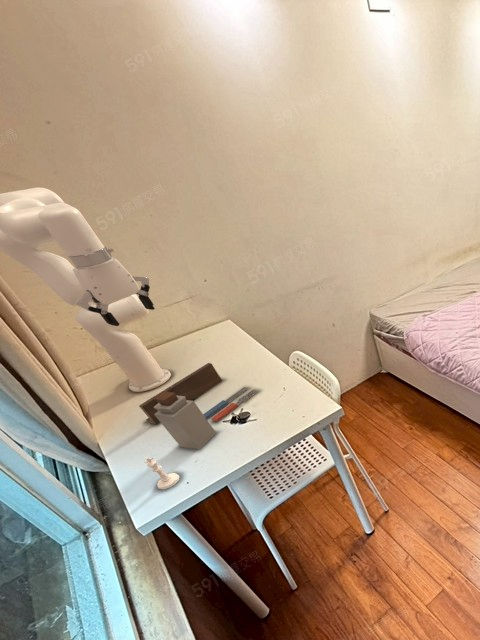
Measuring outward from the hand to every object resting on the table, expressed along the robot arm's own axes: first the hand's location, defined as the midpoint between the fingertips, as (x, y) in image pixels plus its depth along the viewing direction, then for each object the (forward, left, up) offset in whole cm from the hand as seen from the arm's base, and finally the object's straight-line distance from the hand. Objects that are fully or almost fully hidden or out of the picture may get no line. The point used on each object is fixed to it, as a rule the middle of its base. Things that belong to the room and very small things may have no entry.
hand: (133, 316), depth 110 cm
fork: (+13, +4, -35) cm, 37 cm away
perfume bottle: (+16, -11, -35) cm, 40 cm away
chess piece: (+23, -25, -35) cm, 48 cm away
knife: (+9, +4, -35) cm, 36 cm away
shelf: (-6, +1, -35) cm, 35 cm away
